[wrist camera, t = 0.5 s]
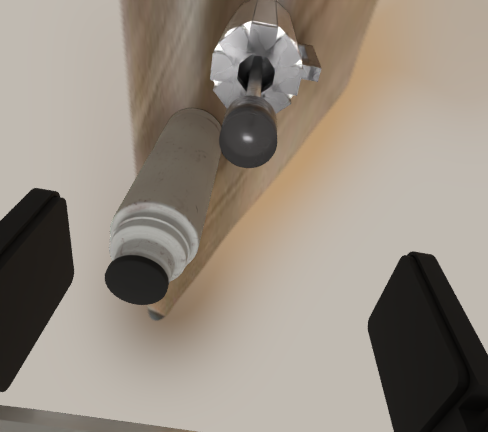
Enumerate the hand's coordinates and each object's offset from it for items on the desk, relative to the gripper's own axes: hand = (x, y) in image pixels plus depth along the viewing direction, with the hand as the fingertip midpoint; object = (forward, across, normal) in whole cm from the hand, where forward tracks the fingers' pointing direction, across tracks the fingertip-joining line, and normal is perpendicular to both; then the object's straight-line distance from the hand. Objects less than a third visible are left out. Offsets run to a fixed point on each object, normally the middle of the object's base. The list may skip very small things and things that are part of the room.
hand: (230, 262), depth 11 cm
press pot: (+41, 0, +1) cm, 41 cm away
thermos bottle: (+41, +6, +15) cm, 44 cm away
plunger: (+30, 0, +1) cm, 30 cm away
